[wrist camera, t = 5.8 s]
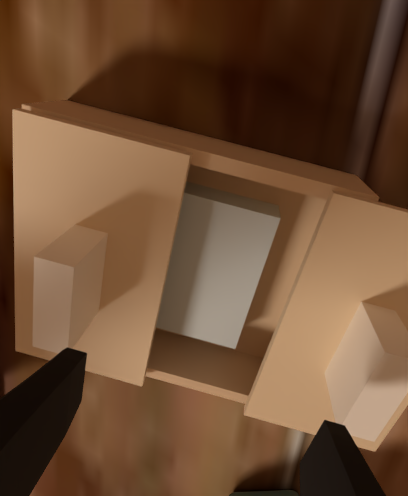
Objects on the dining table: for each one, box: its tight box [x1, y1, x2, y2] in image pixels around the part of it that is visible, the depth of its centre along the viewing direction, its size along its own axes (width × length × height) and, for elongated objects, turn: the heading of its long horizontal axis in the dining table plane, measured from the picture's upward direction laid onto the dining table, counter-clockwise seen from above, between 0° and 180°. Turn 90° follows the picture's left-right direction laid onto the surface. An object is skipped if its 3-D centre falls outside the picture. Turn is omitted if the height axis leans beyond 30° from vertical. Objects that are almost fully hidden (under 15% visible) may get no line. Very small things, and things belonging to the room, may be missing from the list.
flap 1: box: [13, 108, 192, 386], centre depth 14 cm, size 7×12×4 cm, turn 167°
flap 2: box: [244, 190, 408, 452], centre depth 14 cm, size 7×12×4 cm, turn 167°
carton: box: [22, 100, 379, 404], centre depth 18 cm, size 14×12×4 cm
